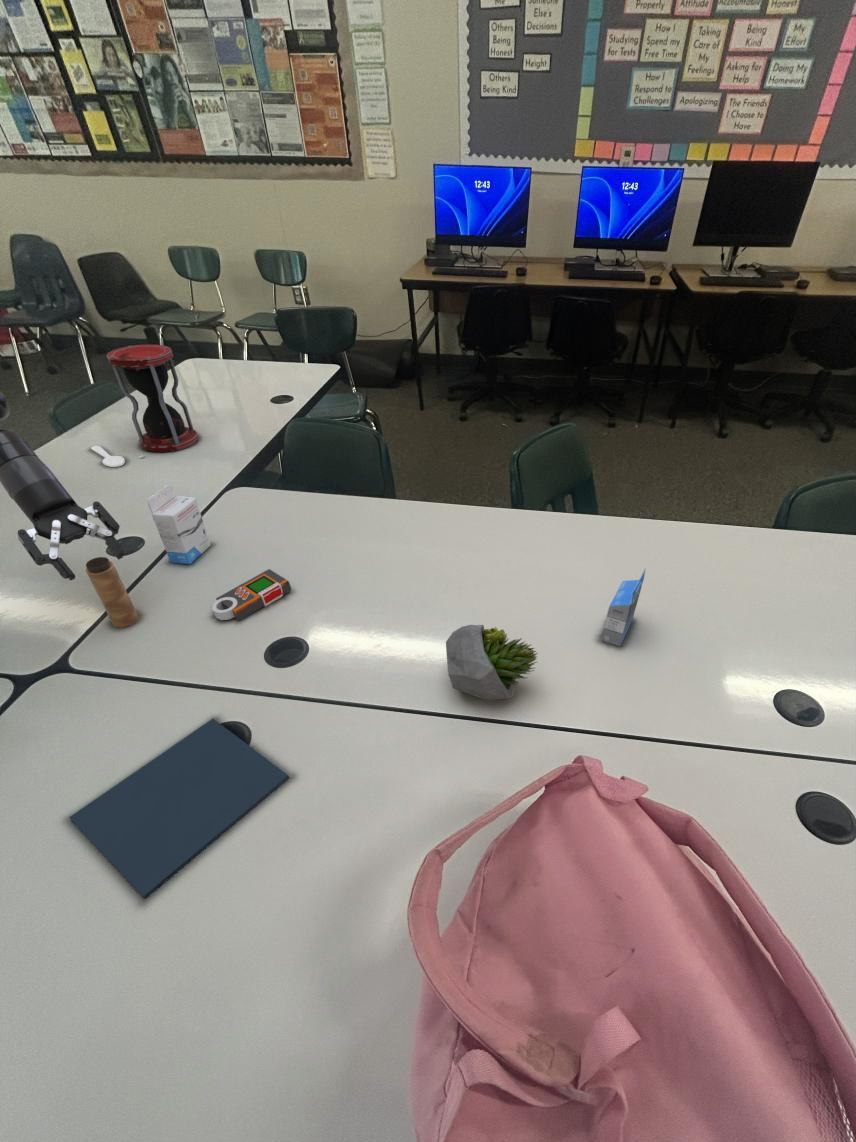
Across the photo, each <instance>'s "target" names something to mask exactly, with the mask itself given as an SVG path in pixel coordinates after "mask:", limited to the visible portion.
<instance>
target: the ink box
mask: <svg viewBox="0 0 856 1142" xmlns="http://www.w3.org/2000/svg"><path fill="white" fill-rule="evenodd" d="M164 494H165V496H163V495H164ZM161 496H163V497H162V498H161V499H160V497H161ZM158 499H159V500H158ZM146 502H147V505H148V507H149V510H150V513H151V516H152V520H153V522H154V524H155V527H156V529H157V532H158V535H159V537H160V540H161V542H162V545H163V548H164V550H165V552H166V555H167V558H168V559H169V562H170V563H174V564H183V565H191V564H193V562H195V561H196V559H197V558H199V557H200V556H201V555H202V554H203V553H204V552H205V551H206V550H208V549H209V547H211V546H212V544H211V541H210V538H209V535H208V532H207V529H206V526H205V523H204V520H203V516H202V513H201V511H200V507H199V504H198V501H197V499H196V497H194V496H193V497H192V496H185V495H176V492H175V490H174V486H173V484H172V483H171V482H168V484H166V485H165V486H163V487H161V489H159V490H157V492H155V493H154V494H152V495H151V496H149V497H148V498H147V500H146Z"/></svg>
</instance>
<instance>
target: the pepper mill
mask: <svg viewBox="0 0 856 1142" xmlns="http://www.w3.org/2000/svg"><path fill="white" fill-rule="evenodd" d="M85 568H86V569H85V573H86V575H87V576H88V578H89V579H88V580H89V581H90V583H91V584H92V587H93V588H94V590H95V592H96V594H97V597H98V599H99V600H100V602H101V604H102V606H103V608H104V609H105V610H104V611H106V614H107V616H108V619H110V621H111V623H112V625H113V627H115V628H117V629H118V628H119V629H121V628H128V627H130V626H133V625H135V624H136V623H137V622H138V620H139V615H138V613H137V610H136V609H135V605H134V604H133V602H132V600H131V598H130V596H129V593H128V591H127V589H126V587H125V585H124V583H123V581H122V579H121V577H120V574H119V573H118V570H117V568H116V566H115V563H113V561H111V560H109V558H108V557H106V556H99V557H94V558H92V559H90V560H88V561H87V562H86V563H85Z"/></svg>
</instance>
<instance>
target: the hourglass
mask: <svg viewBox="0 0 856 1142" xmlns="http://www.w3.org/2000/svg"><path fill="white" fill-rule="evenodd" d="M172 350H173V349H172V348H171V347H169V346H166V345H162V344H138V345H137V344H136V345H128V346H123V347H119V348H116V349H113V350H111V351H108V352H107V354H106V359H107V361H108V363H109V365H111V366H112V369H113V372H114V374H115V377H116V379H117V382H118V386H119V387H120V390H121V392H122V393H123V395H124V396H125V397H127V398H128V399H129V400H130V402H131V403H132V407H133V410H132V413H131V420H132V422H133V425H134V428H135V430H136V434H137V435H138V444H139V446H140V448H141V449H143V450H144V451H146V452H151V453H171V452H175V451H180V450H184V449H186V448H189V447H191V446H193V445H195V444H196V443H197V442H198V441H199V435H198V432H197V431H196V429H194V426H193V423H192V419H191V416H190V414H189V410H188V407H187V405H186V403H185V402H184V401H183V400H181V399H180V397H179V395H178V386H179V378H178V374H177V372H176V371H177V370H176V368H175V365H174V361H173V357H174V353H173V351H172ZM166 362H168V365H169V368H170V369H169V370H170V371H171V374H172V378H173V385H172V387H171V396H172V398H173V400H174V401H175V402H176V403H178V404H180V407H182V410H183V413H184V417H185V420H186V422H187V423H186V424H187V426H185V422H184V419H183V417H182V415H181V414H180V413H179V412H178V411H177V410H176V408H174V407H173V406H172V405H170V404H168V403H167V402H165V398H164V391H165V390H166V388H167V386H168V382H169V372H168V368H167V365H166V364H165V363H166ZM119 367H121V368H122V369H123V373H124V376H125V378H126V380H127V382H128V383H129V384H130V385H131V387H132V388H133V389H135V390H136V391H137V392H139V393H140V394H142V395H143V396H145V397H146V399H147V406H146V409H145V410H144V412H143V415H142V424H143V428H144V430H145V433H144V434H143V432H142V429H141V426H140V424H139V421H138V418H137V416H138V415H137V414H138V411H139V410H140V409H139V402H138V400H137V399H136V397H135V396H134V395H132V394H130V393H129V392H128V390H127V388H126V386H125V384H124V383H125V382H124V381H123V377H122V375H121V372H120V370H119Z"/></svg>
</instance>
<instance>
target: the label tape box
mask: <svg viewBox="0 0 856 1142" xmlns="http://www.w3.org/2000/svg"><path fill="white" fill-rule="evenodd" d="M646 569H647V568H646V567H645V568H644V569H643V571H642V574H641V576H640V578H639V579H633V580H631V579H630V580H622V582H621V583H620V585H619V587H618V589H617V591H616V593H615V595H614V597H613V599H612V601H611V603H610V604H609V607H608V610H607V614H606V618H605V623H604V626H603V631H602V635H601V639H600V640H601V641H602V642H604V643H607V644H609V645H612V646H616V647H621V646H622V644H623V641H624V640H625V637H626V635H627V633H628V631H629V629H630V626H631V624H632V621H633V619H634V616H635V612H636V609H637V605H638V601H639V598H640V595H641V590H642V586H643V582H644V581H645V575H646Z"/></svg>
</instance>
